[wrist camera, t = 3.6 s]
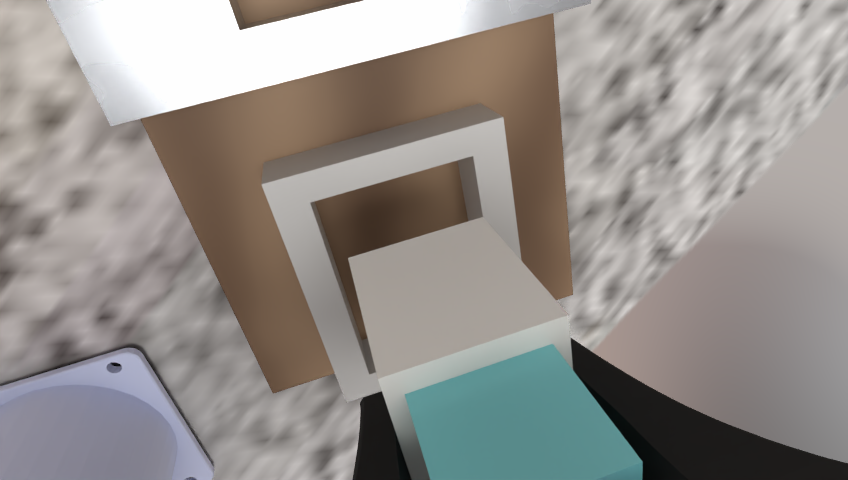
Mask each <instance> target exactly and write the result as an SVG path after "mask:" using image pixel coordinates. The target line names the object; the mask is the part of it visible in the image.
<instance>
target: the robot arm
mask: <svg viewBox="0 0 848 480" xmlns="http://www.w3.org/2000/svg"><path fill="white" fill-rule="evenodd" d="M571 351H572V363H573V371H574V372H575V373H576V375H577V376H578V377H579V379H580V380H581V381H582V383H583V384H584V385H585V387H586V388H587V389H588V391H589V392H590V393H591V395H592V396H593V397H594V398H595V400H596V401H597V402H598V404H599V405H600V406H601V408H602V409H603V410H604V412H605V413H606V414H607V416H608V417H609V418H610V420H611V421H612V422H613V423H614V425H615V426H616V427H617V429H618V430H619V431H620V433H621V434H622V435H623V437H624V438H625V439H626V441H627V442H628V443H629V444H630V446H631V447H632V448H633V450H634V451H635V452H636V454H637V455H638V456H639V458H640V459H641V460H642V462H643V472H642V480H848V463H844V462H840V461H836V460H832V459H828V458H825V457H821V456H818V455H815V454H811V453H808V452H805V451H802V450H799V449H795V448H792V447H789V446H786V445H783V444H780V443H777V442H774V441H771V440H768V439H765V438H763V437H760V436H757V435H755V434H752V433H749V432H747V431H744V430H741V429H739V428H736V427H733V426H731V425H728V424H726V423H723V422H721V421H719V420H716V419H714V418H711V417H709V416H707V415H705V414H703V413H700V412H698V411H696V410H694V409H692V408H689V407H687V406H685V405H683V404H681V403H679V402H677V401H675V400H673V399H671V398H669V397H667V396H666V395H664V394H662V393H660V392H658V391H656V390H654V389H653V388H651V387H649V386H647V385H645V384H644V383H642V382H640V381H638V380H637V379H635V378H633V377H631V376H630V375H628V374H626V373H625V372H623V371H622V370H620V369H618V368H617V367H615V366H613V365H612V364H610V363H608V362H607V361H605V360H603V359H602V358H601V357H599V356H597V355H596V354H594V353H593V352H591V351H590V350H588V349H587V348H585V347H584V346H582V345H581V344H579V343H578V342H576V341H575V340H573V339H572V338H571ZM113 362H116V363H119V364H120V365H121V366H118V367H116V366H113V365H111V364H110V363H113ZM360 407H361V416H360V432H359V441H358V450H357V456H356V462H355V469H354V475H353V480H412V479H411V476H410V473H409V470H408V467H407V464H406V461H405V458H404V456H403V453H402V450H401V447H400V444H399V441H398V438H397V435H396V432H395V429H394V426H393V423H392V420H391V417H390V414H389V411H388V408H387V405H386V402H385V399H384V396H383V393H382V391H381V392H378V393H375V394H372V395H369V396H366V397H364V398H363V399H362V401H361V402H360ZM213 476H214V467H213V466H212V464H211V462H210V461H209V459H208V458H207V456H206V454H205V453H204V451H203V450H202V448H201V446H200V445H199V443H198V442H197V440H196V438H195V437H194V435H193V434H192V432H191V430H190V429H189V427H188V426H187V424H186V422H185V421H184V419H183V418H182V416H181V414H180V413H179V411H178V410H177V408H176V406H175V405H174V403H173V402H172V400H171V398H170V397H169V395H168V393H167V392H166V390H165V389H164V387H163V385H162V384H161V382H160V381H159V379H158V377H157V376H156V374H155V373H154V371H153V369H152V368H151V366H150V365H149V363H148V361H147V360H146V358H145V357H144V355H143V354H142V353H141V352H140V351H139V350H137V349H135V348H123V349H120V350H117V351H114V352H110V353H107V354H104V355H101V356H97V357H94V358H91V359H88V360H84V361H81V362H78V363H75V364H71V365H68V366H65V367H62V368H58V369H55V370H52V371H49V372H45V373H42V374H39V375H36V376H32V377H29V378H26V379H23V380H20V381H16V382H13V383H10V384H7V385H3V386H0V480H212V479H213ZM188 477H194V478H188Z"/></svg>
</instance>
